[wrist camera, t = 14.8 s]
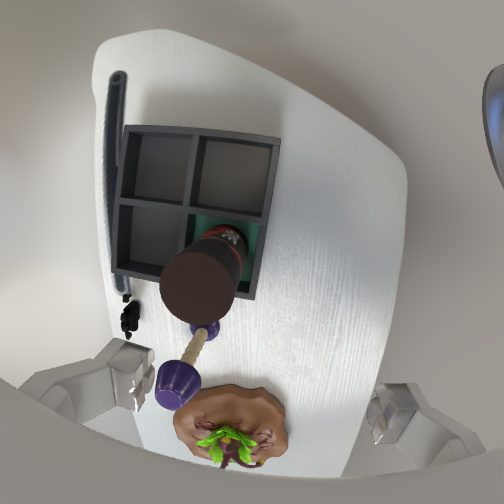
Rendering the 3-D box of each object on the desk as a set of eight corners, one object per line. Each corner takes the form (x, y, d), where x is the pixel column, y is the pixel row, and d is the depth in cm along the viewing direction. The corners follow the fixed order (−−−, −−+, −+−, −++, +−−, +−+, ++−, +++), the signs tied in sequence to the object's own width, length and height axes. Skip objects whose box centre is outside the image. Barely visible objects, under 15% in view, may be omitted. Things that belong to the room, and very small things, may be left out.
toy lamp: (181, 321, 40) (137, 395, 24) (203, 302, 39) (164, 375, 23) (205, 344, 41) (174, 425, 24) (228, 326, 40) (205, 407, 24)
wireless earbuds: (130, 286, 39) (114, 299, 34) (146, 289, 39) (131, 302, 34) (133, 328, 41) (119, 344, 36) (147, 331, 41) (135, 348, 36)
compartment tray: (140, 130, 34) (124, 124, 30) (279, 144, 34) (281, 138, 29) (126, 263, 39) (111, 272, 34) (256, 287, 38) (254, 300, 34)
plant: (162, 384, 43) (139, 429, 32) (281, 379, 41) (283, 432, 31) (192, 455, 48) (180, 496, 37) (289, 453, 46) (291, 498, 35)
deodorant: (253, 230, 36) (242, 263, 21) (242, 275, 37) (225, 333, 23) (206, 218, 36) (164, 243, 21) (197, 264, 37) (155, 313, 23)
